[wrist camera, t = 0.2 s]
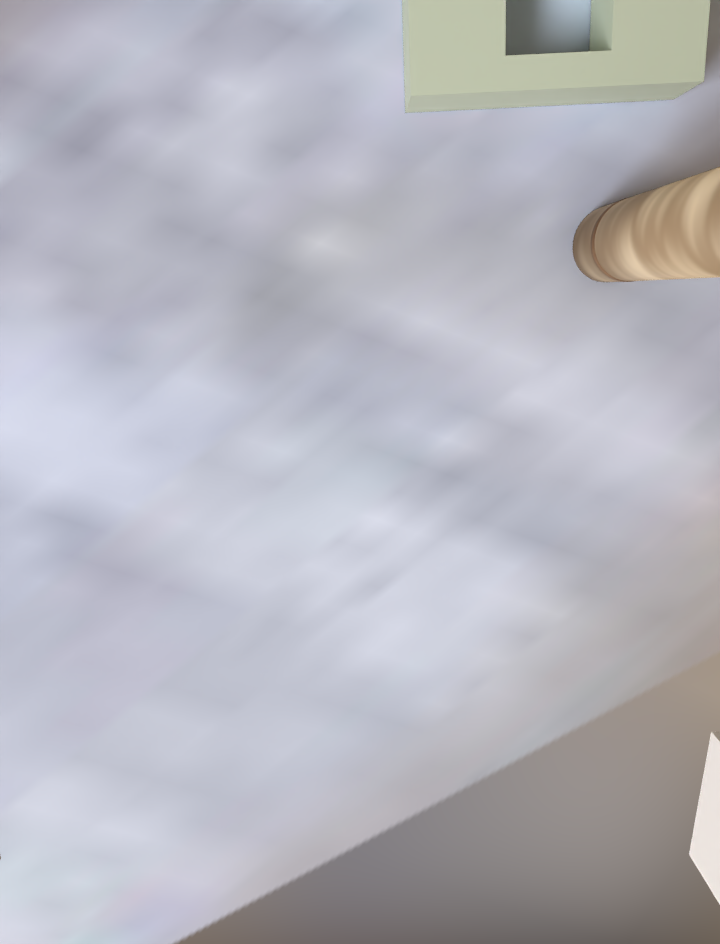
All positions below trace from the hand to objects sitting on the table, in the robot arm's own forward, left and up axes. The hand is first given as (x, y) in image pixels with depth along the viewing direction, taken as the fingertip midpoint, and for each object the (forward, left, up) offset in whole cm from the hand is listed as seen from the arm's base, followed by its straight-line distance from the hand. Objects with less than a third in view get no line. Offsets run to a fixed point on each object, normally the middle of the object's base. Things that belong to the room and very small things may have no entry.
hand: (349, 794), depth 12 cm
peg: (-11, +15, -28) cm, 33 cm away
